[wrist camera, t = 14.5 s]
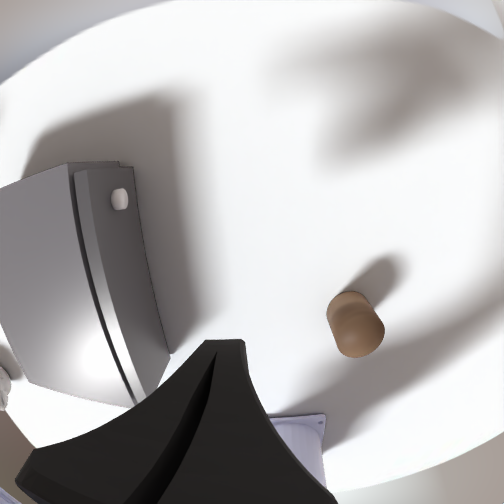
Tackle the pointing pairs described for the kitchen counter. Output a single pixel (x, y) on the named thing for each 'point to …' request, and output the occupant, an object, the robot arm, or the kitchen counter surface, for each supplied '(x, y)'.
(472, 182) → the kitchen counter surface
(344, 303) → the brown domed cylinder
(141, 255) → the tray
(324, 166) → the kitchen counter surface
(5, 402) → the grey rounded lumpy piece
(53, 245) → the housing
